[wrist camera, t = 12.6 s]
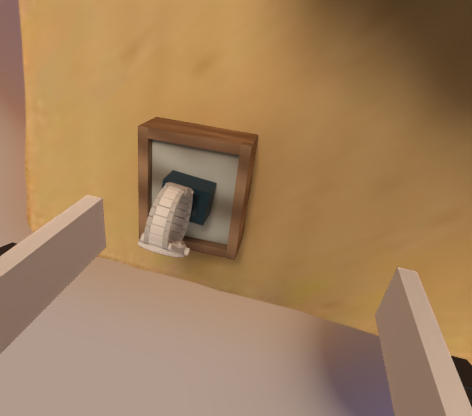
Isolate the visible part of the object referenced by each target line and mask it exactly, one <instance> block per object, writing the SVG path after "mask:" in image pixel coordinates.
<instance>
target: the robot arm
mask: <svg viewBox="0 0 472 416" xmlns="http://www.w3.org/2000/svg"><path fill="white" fill-rule="evenodd" d="M105 247H106V239H105V225H104V211H103V198H99V197H95V196H91V195H86V196H85V197H83V198H82V199H81V200H79V201H78V202H76V203H75V204H73V205H72V206H71V207H69V208H68V209H66V210H65V211H64V212H62V213H61V214H59V215H58V216H56V217H55V218H54V219H52V220H51V221H49V222H48V223H47V224H45V225H44V226H42V227H41V228H39V229H38V230H37V231H35V232H34V233H32V234H31V235H30V236H28V237H27V238H25V239H24V240H22V241H21V242H20V243H18V244H16V243H10V244H8V245H5V246H3V247H0V353H2V351H4V349H6V347H7V346H9V344H10V343H11V342H12V341H13V340H14V339H15V338H16V337H17V336H18V335H19V334H20V333H21V332H22V331H23V330H24V329H25V328H26V327H27V326H28V325H29V324H30V323H31V322H32V321H33V320H34V319H35V318H36V317H37V316H38V315H39V314H40V313H41V312H42V311H43V310H44V309H45V308H46V307H47V306H48V305H49V304H50V303H51V302H52V301H53V300H54V299H55V298H56V297H57V296H58V295H59V294H60V293H61V292H62V291H63V290H64V289H65V288H66V287H67V286H68V285H69V284H70V283H71V282H72V281H73V280H74V279H75V278H76V277H77V276H78V275H79V274H80V273H81V272H82V271H83V270H84V269H85V268H86V267H87V266H88V265H89V264H90V263H91V262H92V260H94V259H95V258H96V257H97V256H98V255H99V254H100V253H101V252H102V251H103V250H104V249H105ZM375 317H376V322H377V327H378V332H379V337H380V342H381V347H382V353H383V358H384V363H385V368H386V373H387V378H388V384H389V389H390V394H391V398H392V404H393V409H394V414H395V416H472V365H471V364H470V363H469V362H468V361H467V360H465V359H462V358H458V357H454V356H451V355H450V352H449V350H448V347H447V345H446V342H445V340H444V338H443V335H442V333H441V330H440V328H439V325H438V323H437V320H436V318H435V315H434V313H433V310H432V308H431V305H430V303H429V300H428V298H427V295H426V293H425V290H424V288H423V285H422V283H421V280H420V278H419V275H418V273H417V271H413V270H409V269H404V268H400V267H397V269H396V271H395V273H394V275H393V278H392V280H391V282H390V284H389V286H388V288H387V290H386V293H385V295H384V297H383V299H382V301H381V303H380V306H379V308H378V310H377V312H376V314H375Z"/></svg>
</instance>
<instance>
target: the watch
mask: <svg viewBox="0 0 472 416" xmlns="http://www.w3.org/2000/svg"><path fill="white" fill-rule="evenodd" d="M216 185H217V183H215V182H212V181H208V180H205V179H202V178H198V177H195V176H191V175H188V174H185V173H181V172H178V171H175V170H172V171H171V172H170V173H169V174H168V175H167V176H166V177H165V178H164V179H163V183H162V189H161V191H160V193H159V194H158V196H157V198H156V200H155V202H154V204H153V207H152V208H151V210H150V213H149V216H148V219H147V222H146V227H145V232H143V233H142V234H141V237H140V240H139V241H138V245H139V246H141V247H142V248H144V249H147V250H149V251H152V252H154V253H159V254H162V255H167V256H171V257H184V255H187V256H188V254H189V252H190V248H187V247H186V244H185V243H184V241H182V239H183V237H184V234H185V230H186V229H187V226H188V223H186V222H192V223H195V224H198V225H202V226H203V225H204V223H205V221H206V220H207V218H208V216H209V215H210V211H211V207H212V202H213V198H214V194H215V189H216ZM155 207H156V208H155ZM155 214H156V215H155ZM158 215H159V216H158ZM151 216H152V217H151ZM161 216H163V217H161ZM165 217H166V218H165ZM167 221H168V222H167ZM172 223H173V224H172ZM175 224H176V225H175ZM178 225H179V226H178ZM182 226H183V227H182ZM182 229H183V230H182Z"/></svg>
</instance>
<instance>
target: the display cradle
mask: <svg viewBox="0 0 472 416" xmlns="http://www.w3.org/2000/svg"><path fill="white" fill-rule="evenodd" d="M257 140H258V135H256V134H251V133H245V132H239V131H234V130H228V129H222V128H216V127H211V126H205V125H199V124H194V123H188V122H182V121H176V120H171V119H165V118H159V117H155V118H153V119H151V120H149V121H147V122H145V123H143V124H141V125H139V126H138V188H139V239H140V237H141V234H142V233H143V232H145V227H146V222H147V219H148V216H149V213H150V210H151V208H152V207H153V204H154V202H155V200H156V198H157V196H158V194H159V193H160V191H161V189H162V183H163V179H164V178H165V177H166V176H167V175H168V174H169V173H170V172H171V171H172V170H175V171H178V172H181V173H185V174H188V175H191V176H195V177H198V178H202V179H205V180H208V181H212V182H215V183H217V185H216V189H215V194H214V198H213V202H212V207H211V211H210V215H209V216H208V218H207V220H206V221H205V223H204V225H203V226H202V225H198V224H195V223H192V222H186V223H188V226H187V229H186V230H185V234H184V237H183V239H182V241H184V243H185V244H186V247H187V248H190V250H193V251H198V252H202V253H207V254H211V255H216V256H220V257H225V258H229V259H234V260H235V257H236V255H237V252H238V249H239V246H240V243H241V240H242V235H243V229H244V222H245V216H246V210H247V203H248V197H249V191H250V184H251V178H252V171H253V165H254V159H255V152H256V146H257ZM155 208H156V207H155ZM155 215H156V214H155ZM158 216H159V215H158ZM151 217H152V216H151ZM161 217H163V216H161ZM165 218H166V217H165ZM167 222H168V221H167ZM172 224H173V223H172ZM175 225H176V224H175ZM178 226H179V225H178ZM182 227H183V226H182ZM182 230H183V229H182Z"/></svg>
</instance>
